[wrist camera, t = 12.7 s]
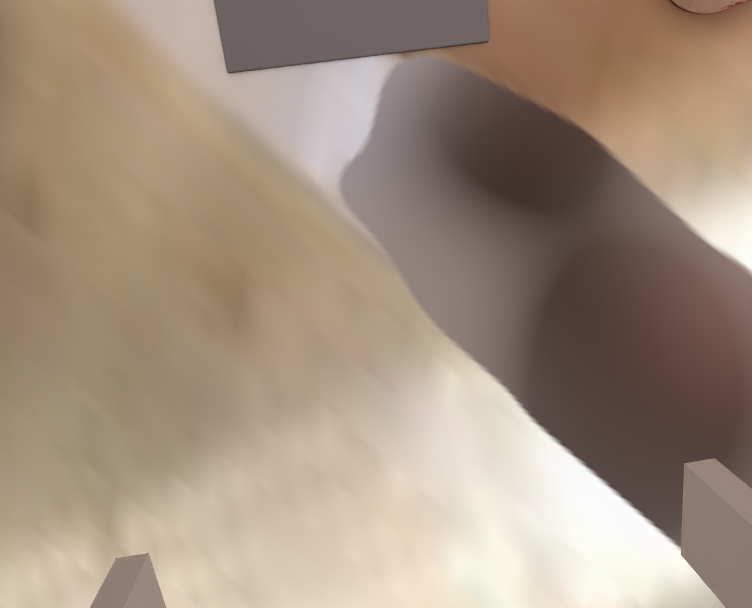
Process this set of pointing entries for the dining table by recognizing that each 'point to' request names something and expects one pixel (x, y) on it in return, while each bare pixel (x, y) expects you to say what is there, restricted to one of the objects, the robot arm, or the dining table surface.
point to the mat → (342, 29)
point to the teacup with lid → (707, 5)
